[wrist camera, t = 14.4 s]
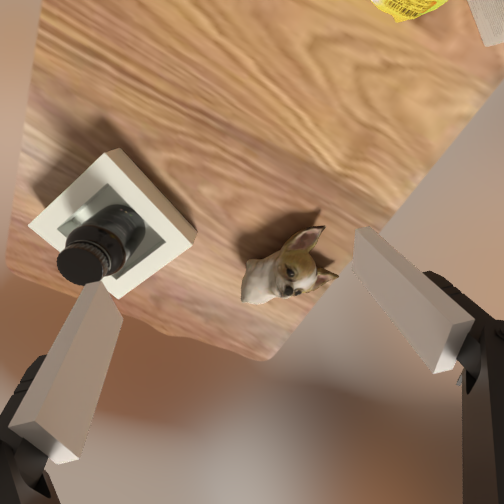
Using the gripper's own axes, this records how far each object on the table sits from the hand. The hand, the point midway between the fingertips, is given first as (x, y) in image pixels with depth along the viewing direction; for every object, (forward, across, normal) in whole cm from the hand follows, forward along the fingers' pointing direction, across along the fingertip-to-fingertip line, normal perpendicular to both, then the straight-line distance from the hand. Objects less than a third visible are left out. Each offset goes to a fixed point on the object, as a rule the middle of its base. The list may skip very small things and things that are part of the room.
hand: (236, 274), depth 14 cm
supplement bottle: (+27, -15, -7) cm, 31 cm away
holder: (+27, -15, -8) cm, 32 cm away
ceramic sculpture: (+24, +8, -18) cm, 31 cm away
